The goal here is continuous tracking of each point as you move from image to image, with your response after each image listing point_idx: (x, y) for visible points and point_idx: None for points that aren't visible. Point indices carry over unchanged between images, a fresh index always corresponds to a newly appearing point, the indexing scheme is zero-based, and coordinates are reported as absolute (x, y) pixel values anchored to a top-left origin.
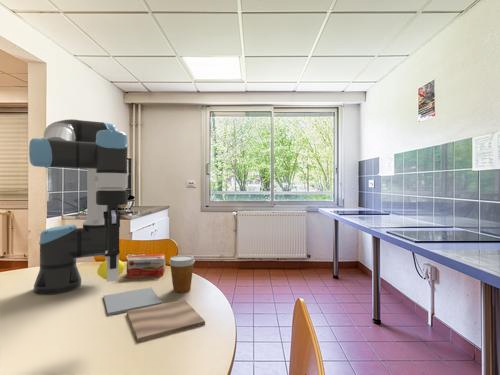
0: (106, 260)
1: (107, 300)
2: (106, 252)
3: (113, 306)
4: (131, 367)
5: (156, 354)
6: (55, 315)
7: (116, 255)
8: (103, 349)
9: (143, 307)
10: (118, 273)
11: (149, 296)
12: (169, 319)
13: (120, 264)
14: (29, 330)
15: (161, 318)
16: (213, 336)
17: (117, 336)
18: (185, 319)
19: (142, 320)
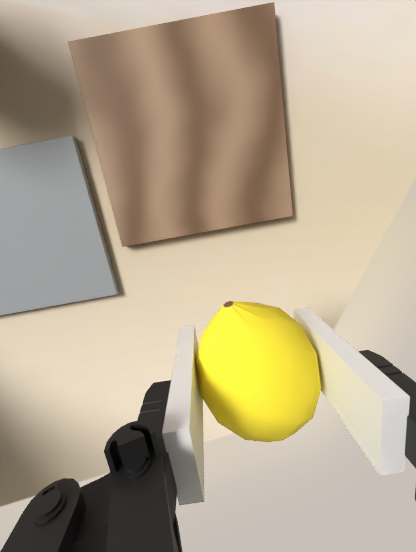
0: (277, 432)
1: (21, 304)
2: (203, 484)
3: (73, 284)
4: (379, 226)
5: (359, 175)
6: (83, 402)
7: (406, 409)
8: (287, 283)
9: (92, 199)
10: (322, 322)
11: (8, 176)
12: (220, 123)
13: (294, 334)
14: None
15: (204, 147)
16: (348, 4)
17: (242, 260)
18: (238, 70)
19: (199, 203)
